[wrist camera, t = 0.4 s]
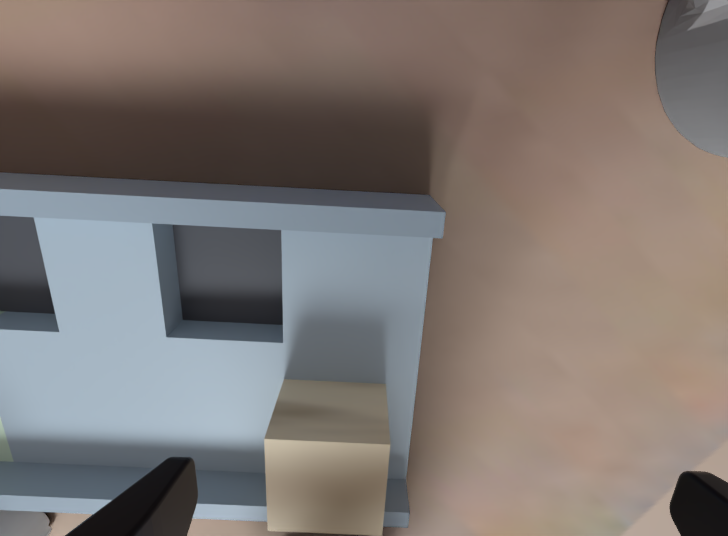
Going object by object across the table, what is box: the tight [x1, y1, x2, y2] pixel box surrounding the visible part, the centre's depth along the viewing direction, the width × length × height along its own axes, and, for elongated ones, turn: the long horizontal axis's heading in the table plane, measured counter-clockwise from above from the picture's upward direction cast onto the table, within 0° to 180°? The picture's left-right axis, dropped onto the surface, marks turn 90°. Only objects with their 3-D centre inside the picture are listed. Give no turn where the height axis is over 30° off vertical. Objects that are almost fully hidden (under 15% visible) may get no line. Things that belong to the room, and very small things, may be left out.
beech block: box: [264, 379, 390, 536], centre depth 19 cm, size 5×5×4 cm
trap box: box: [0, 172, 446, 528], centre depth 19 cm, size 16×26×4 cm, turn 87°
